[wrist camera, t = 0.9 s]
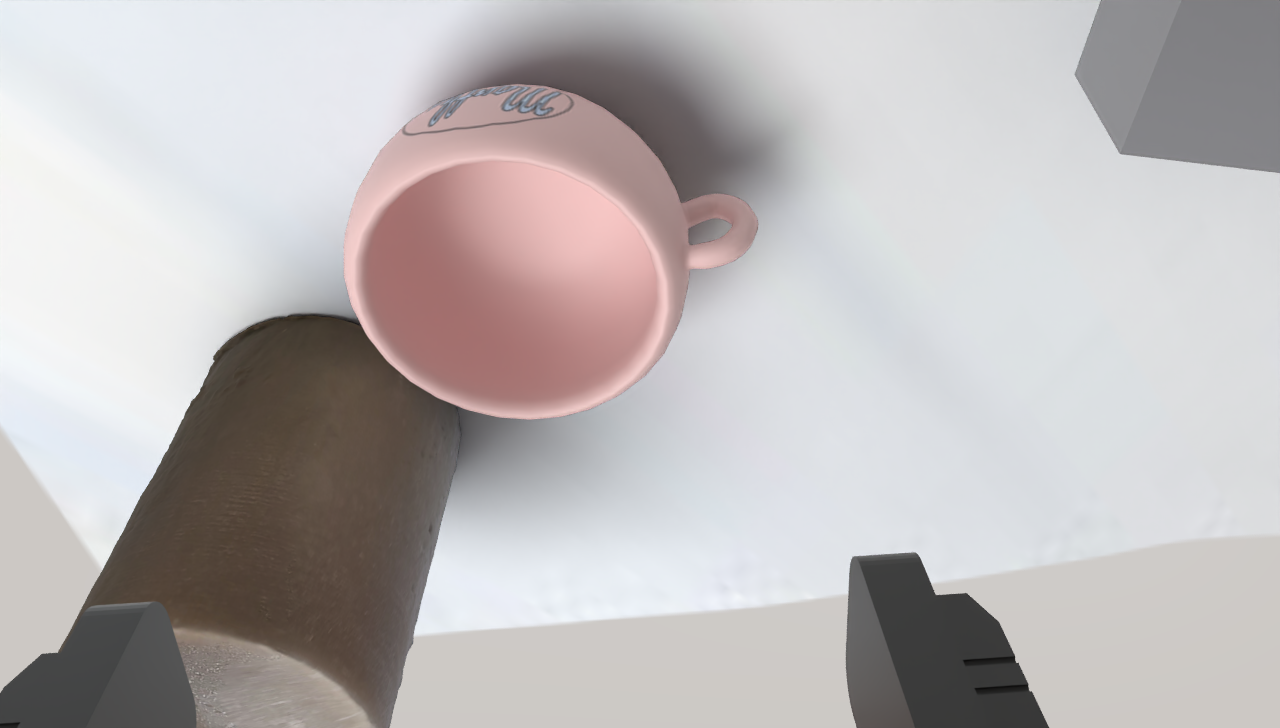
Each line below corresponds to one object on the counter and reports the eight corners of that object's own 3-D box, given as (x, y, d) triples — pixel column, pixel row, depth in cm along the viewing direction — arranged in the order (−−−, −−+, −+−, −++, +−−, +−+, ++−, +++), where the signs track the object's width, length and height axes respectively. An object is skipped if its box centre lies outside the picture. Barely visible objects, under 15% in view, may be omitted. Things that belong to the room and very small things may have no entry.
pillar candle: (171, 316, 41) (-48, 668, 29) (442, 309, 40) (327, 670, 29) (247, 509, 47) (91, 864, 36) (484, 507, 46) (404, 871, 35)
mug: (428, 330, 41) (391, 443, 36) (340, 66, 35) (282, 161, 30) (769, 297, 39) (776, 410, 35) (738, 14, 33) (741, 104, 29)
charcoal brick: (1129, -84, 31) (1188, -17, 27) (1384, -53, 31) (1479, 18, 28) (1073, 72, 34) (1119, 153, 30) (1308, 101, 34) (1385, 185, 30)
